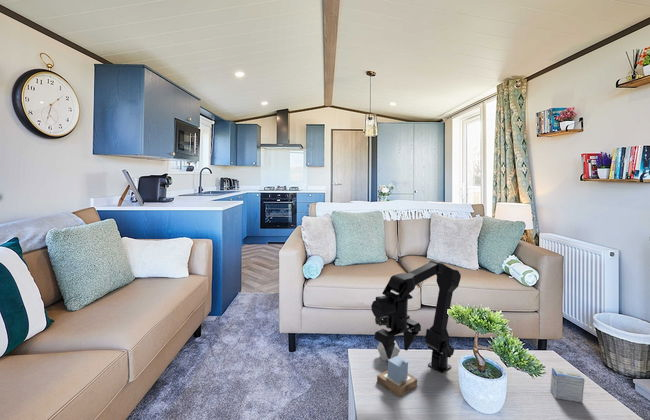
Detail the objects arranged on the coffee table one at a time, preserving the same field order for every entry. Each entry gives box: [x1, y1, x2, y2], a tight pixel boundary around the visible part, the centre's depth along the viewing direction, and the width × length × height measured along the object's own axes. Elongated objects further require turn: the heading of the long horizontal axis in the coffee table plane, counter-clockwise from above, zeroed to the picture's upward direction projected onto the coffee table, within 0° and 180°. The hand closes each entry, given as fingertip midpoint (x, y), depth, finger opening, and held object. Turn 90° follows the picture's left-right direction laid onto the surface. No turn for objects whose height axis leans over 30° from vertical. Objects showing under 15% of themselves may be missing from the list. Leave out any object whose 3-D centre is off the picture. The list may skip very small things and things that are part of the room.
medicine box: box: [550, 367, 585, 404], centre depth 107 cm, size 8×4×9 cm, turn 73°
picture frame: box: [376, 369, 418, 398], centre depth 113 cm, size 10×10×3 cm
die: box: [376, 340, 401, 362], centre depth 129 cm, size 8×9×10 cm
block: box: [387, 355, 409, 383], centre depth 113 cm, size 5×5×6 cm
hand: (397, 354), depth 112 cm, fingers open, 9 cm apart
